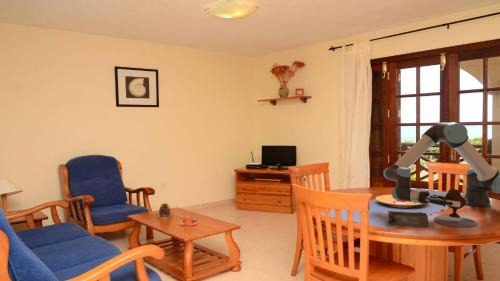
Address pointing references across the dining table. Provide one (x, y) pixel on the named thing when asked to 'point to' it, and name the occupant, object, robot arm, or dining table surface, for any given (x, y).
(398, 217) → the dark grey rectangular block
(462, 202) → the ice cream bowl
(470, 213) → the dining table surface
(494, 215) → the dining table surface
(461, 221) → the disc
